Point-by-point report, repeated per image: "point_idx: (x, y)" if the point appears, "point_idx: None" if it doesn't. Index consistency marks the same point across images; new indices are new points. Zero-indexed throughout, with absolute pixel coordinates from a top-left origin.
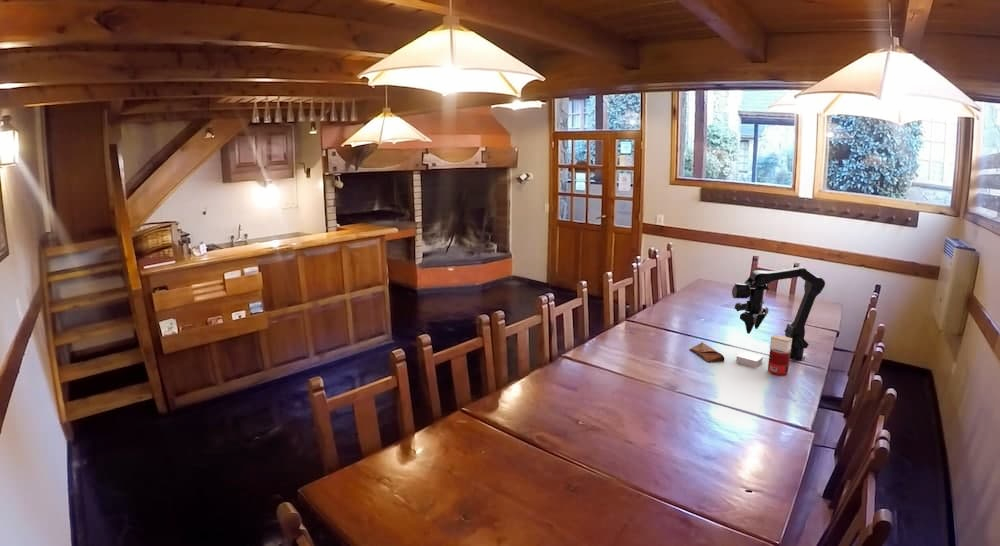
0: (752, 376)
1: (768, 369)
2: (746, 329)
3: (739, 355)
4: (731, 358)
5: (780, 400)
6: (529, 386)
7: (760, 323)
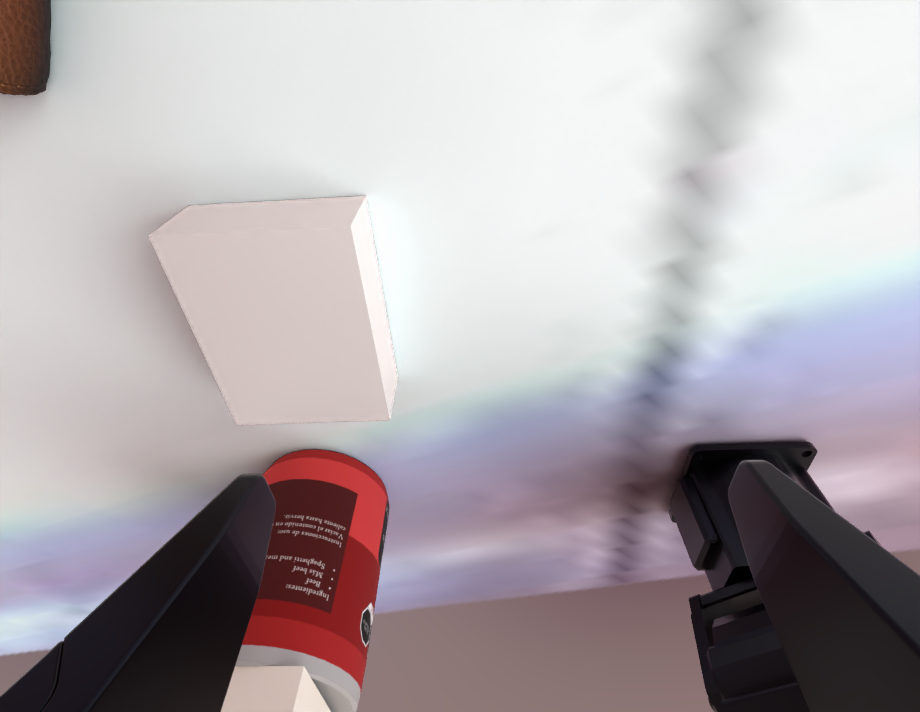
0: (83, 424)
1: (266, 474)
2: (154, 556)
3: (199, 250)
4: (237, 103)
5: (5, 587)
6: None
7: (808, 688)
